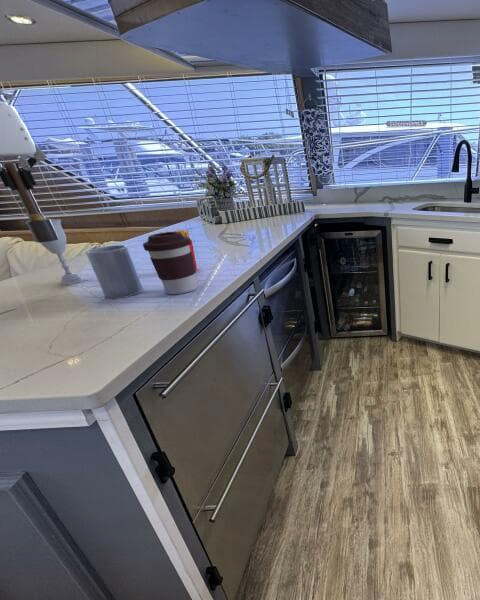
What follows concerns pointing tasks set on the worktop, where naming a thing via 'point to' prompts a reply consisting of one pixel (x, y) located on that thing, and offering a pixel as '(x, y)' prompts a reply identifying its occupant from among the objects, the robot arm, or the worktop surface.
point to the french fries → (189, 245)
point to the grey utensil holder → (115, 271)
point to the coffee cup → (172, 261)
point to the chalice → (58, 249)
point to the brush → (31, 207)
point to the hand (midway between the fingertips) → (22, 188)
